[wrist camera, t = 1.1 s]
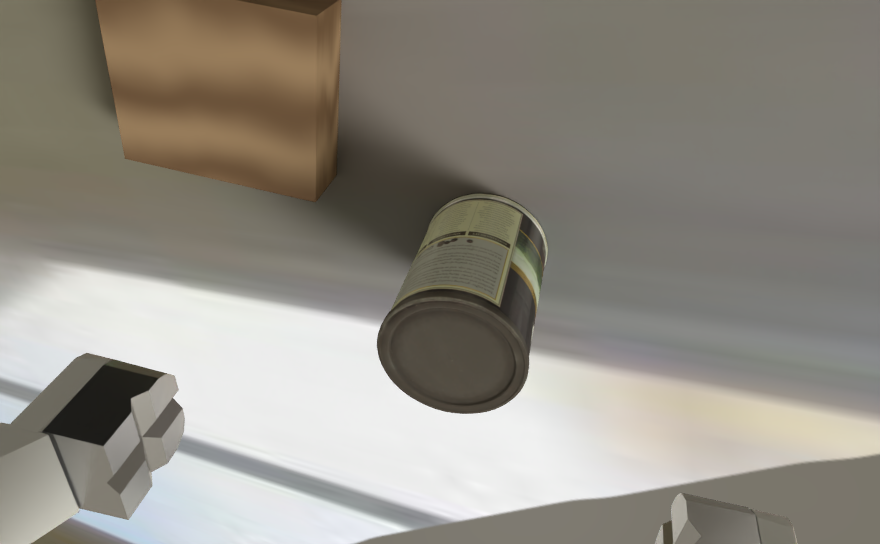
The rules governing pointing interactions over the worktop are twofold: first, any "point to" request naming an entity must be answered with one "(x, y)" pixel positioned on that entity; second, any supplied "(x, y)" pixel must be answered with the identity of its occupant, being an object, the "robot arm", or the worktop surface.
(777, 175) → the worktop surface
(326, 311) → the worktop surface
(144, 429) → the robot arm
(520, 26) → the worktop surface
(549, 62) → the worktop surface
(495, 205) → the coffee can
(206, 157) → the walnut block
